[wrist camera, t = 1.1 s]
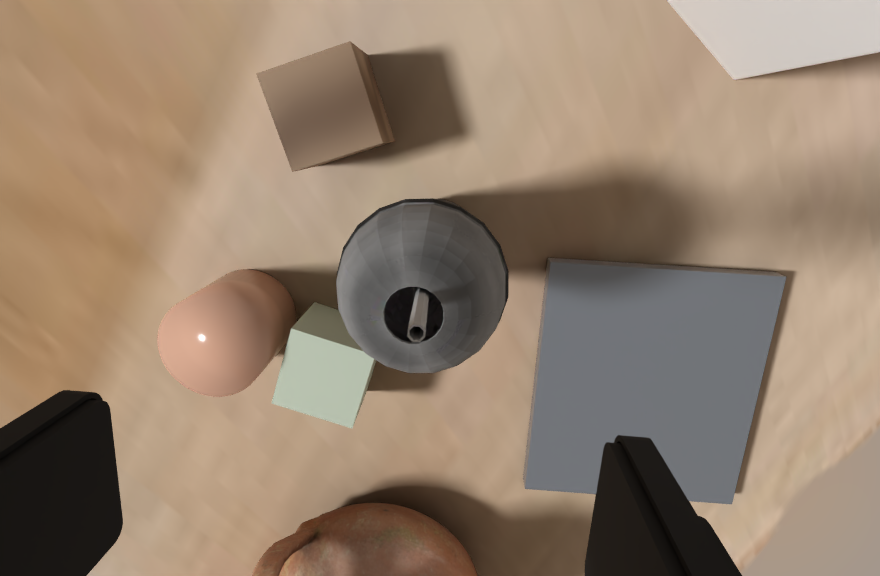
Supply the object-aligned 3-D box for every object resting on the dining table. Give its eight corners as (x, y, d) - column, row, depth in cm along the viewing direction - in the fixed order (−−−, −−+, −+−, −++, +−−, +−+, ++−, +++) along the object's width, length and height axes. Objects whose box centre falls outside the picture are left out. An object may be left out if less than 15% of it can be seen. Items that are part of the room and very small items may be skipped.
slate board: (547, 257, 34) (550, 262, 33) (775, 271, 33) (786, 276, 32) (523, 478, 38) (524, 488, 37) (723, 493, 38) (731, 504, 37)
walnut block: (287, 82, 32) (256, 73, 27) (367, 55, 31) (350, 41, 26) (317, 165, 33) (292, 171, 28) (395, 141, 32) (382, 142, 28)
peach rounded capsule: (204, 266, 35) (152, 292, 29) (295, 272, 35) (261, 299, 29) (210, 352, 37) (162, 392, 31) (297, 358, 37) (265, 400, 31)
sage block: (314, 301, 36) (291, 328, 31) (387, 325, 36) (375, 355, 31) (296, 367, 37) (271, 403, 32) (367, 390, 37) (352, 428, 32)
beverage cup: (360, 261, 35) (228, 423, 15) (408, 154, 33) (323, 189, 13) (463, 309, 35) (459, 523, 16) (516, 207, 33) (584, 312, 14)
